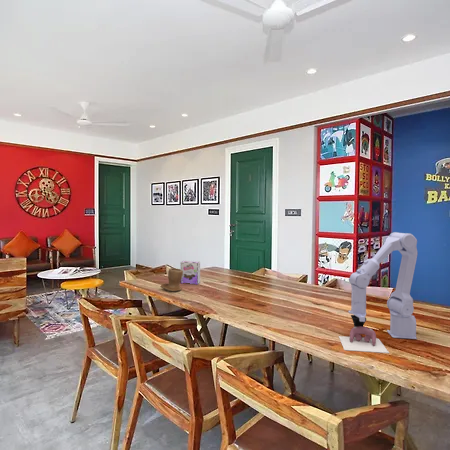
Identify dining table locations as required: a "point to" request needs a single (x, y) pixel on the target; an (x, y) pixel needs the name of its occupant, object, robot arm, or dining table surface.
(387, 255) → the robot arm
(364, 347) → the mat
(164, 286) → the brown hat
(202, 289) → the dining table surface
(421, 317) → the dining table surface
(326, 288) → the dining table surface
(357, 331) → the video game controller
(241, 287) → the dining table surface
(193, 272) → the candy box
